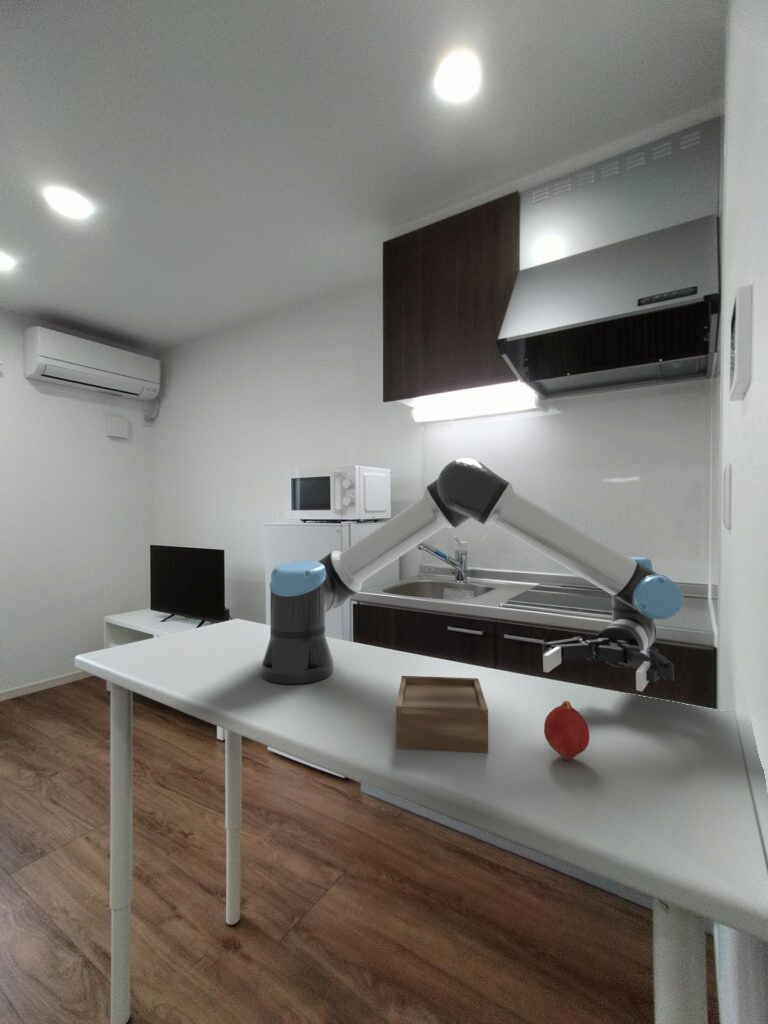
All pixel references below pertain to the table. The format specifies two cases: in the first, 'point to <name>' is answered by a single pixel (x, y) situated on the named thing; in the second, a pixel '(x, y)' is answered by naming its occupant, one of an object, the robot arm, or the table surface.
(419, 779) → the table surface
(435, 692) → the walnut tray
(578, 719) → the onion
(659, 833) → the table surface
